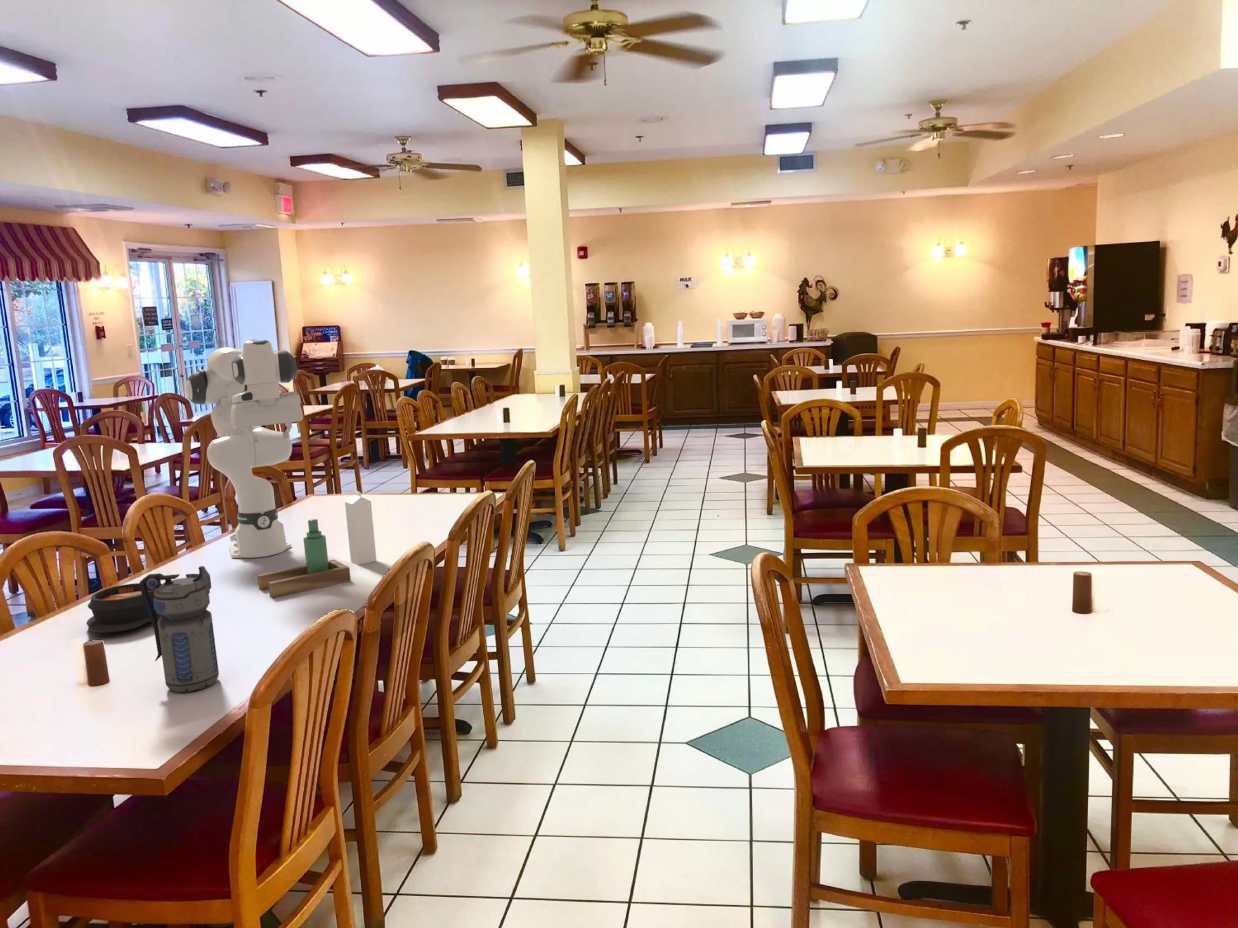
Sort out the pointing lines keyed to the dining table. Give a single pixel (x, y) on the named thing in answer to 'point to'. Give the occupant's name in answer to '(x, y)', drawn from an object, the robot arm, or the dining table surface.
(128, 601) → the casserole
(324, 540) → the bottle
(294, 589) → the u rest
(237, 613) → the dining table surface
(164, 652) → the blue striped grenade
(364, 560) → the milk
